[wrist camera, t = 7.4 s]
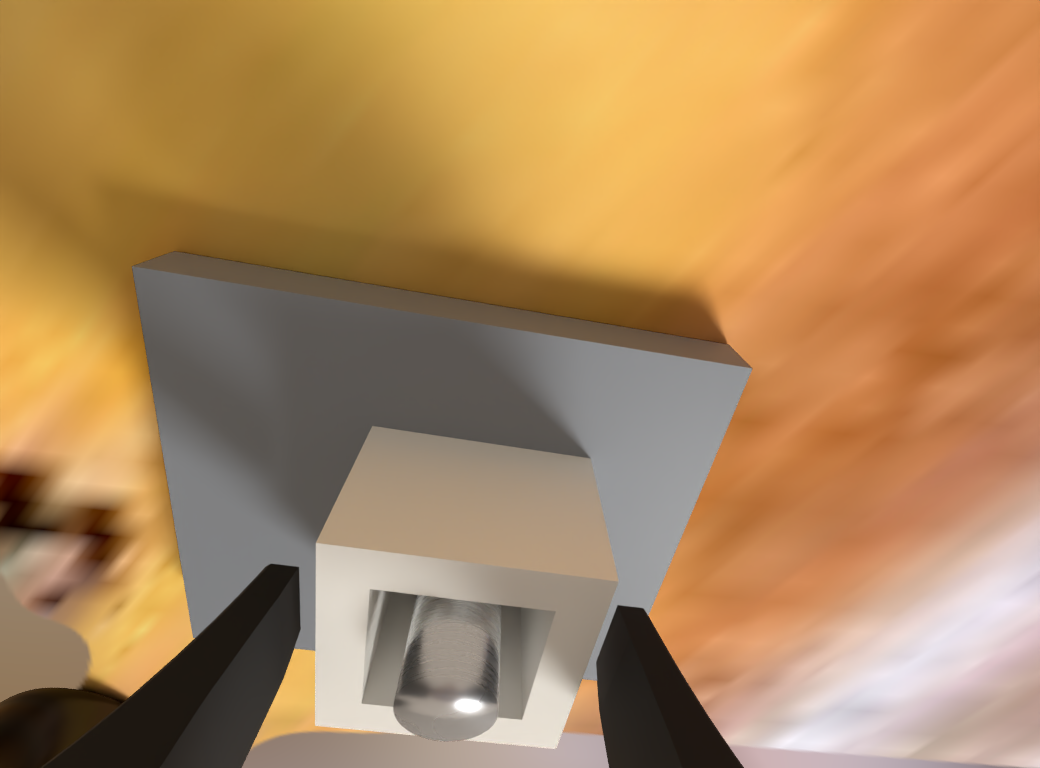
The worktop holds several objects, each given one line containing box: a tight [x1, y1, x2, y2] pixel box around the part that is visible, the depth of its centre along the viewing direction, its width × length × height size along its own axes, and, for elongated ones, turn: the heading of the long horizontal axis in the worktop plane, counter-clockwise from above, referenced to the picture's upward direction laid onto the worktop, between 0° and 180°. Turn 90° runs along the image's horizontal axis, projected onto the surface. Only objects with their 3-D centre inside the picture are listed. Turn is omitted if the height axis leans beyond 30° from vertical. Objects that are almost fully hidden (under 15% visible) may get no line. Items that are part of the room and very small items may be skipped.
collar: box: [315, 426, 619, 749], centre depth 12 cm, size 6×6×4 cm
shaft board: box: [132, 251, 752, 742], centre depth 12 cm, size 14×12×6 cm
